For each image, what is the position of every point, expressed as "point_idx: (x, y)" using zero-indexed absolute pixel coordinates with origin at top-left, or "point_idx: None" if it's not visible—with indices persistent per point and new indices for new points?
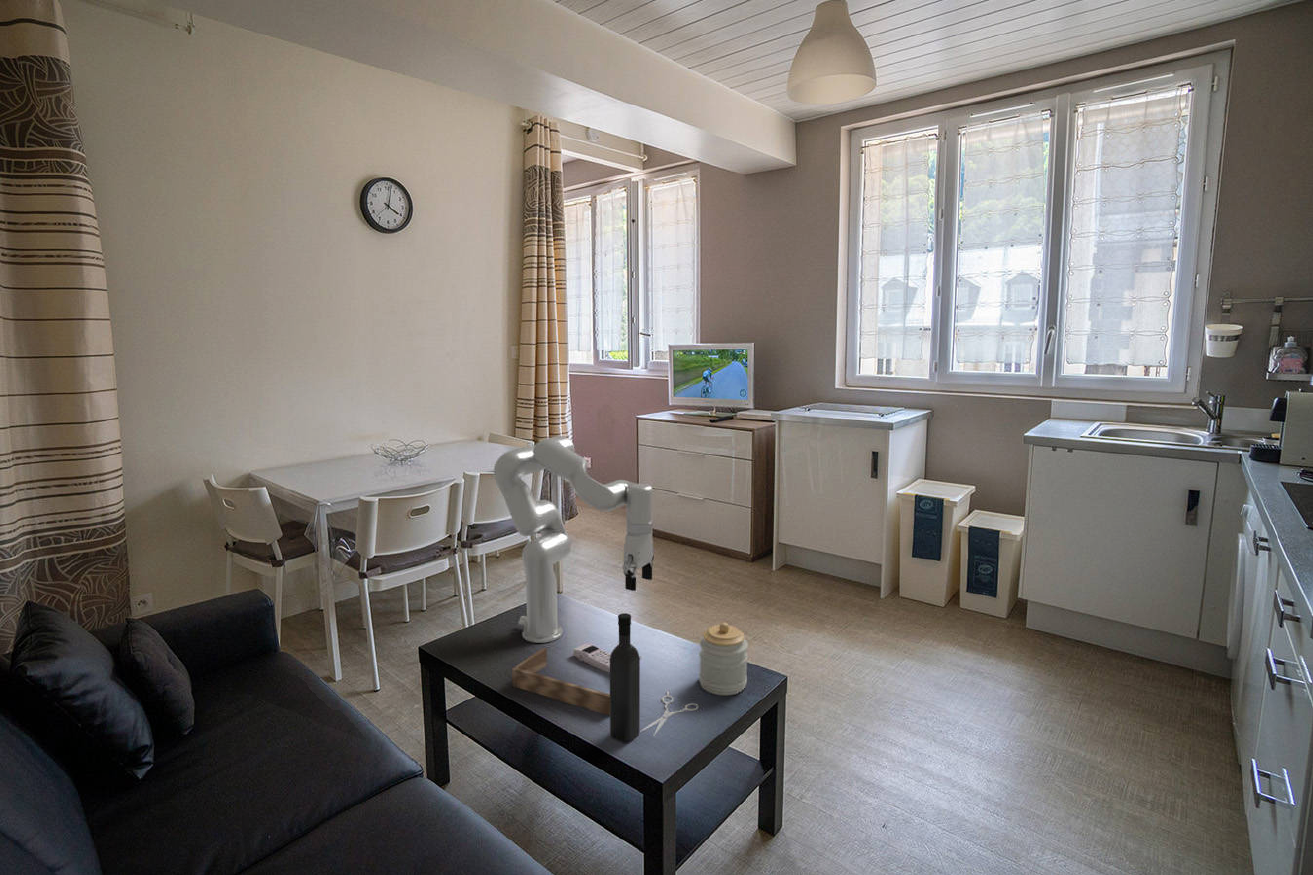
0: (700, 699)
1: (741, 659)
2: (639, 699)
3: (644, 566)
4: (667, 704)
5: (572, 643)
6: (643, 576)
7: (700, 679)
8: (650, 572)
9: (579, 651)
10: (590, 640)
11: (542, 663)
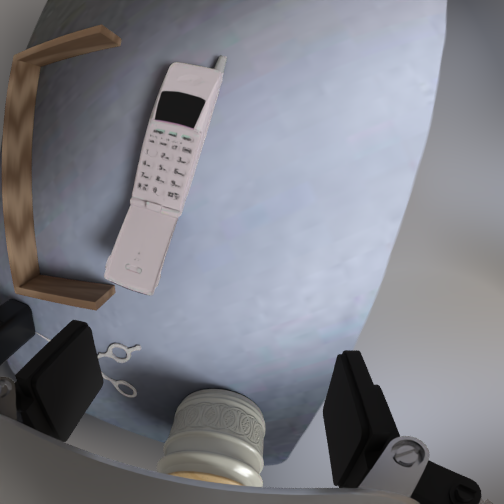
0: (153, 397)
1: None
2: (3, 362)
3: (357, 451)
4: (106, 356)
5: (248, 27)
6: (338, 374)
7: (187, 401)
8: (330, 453)
9: (161, 87)
10: (288, 59)
11: (100, 45)
